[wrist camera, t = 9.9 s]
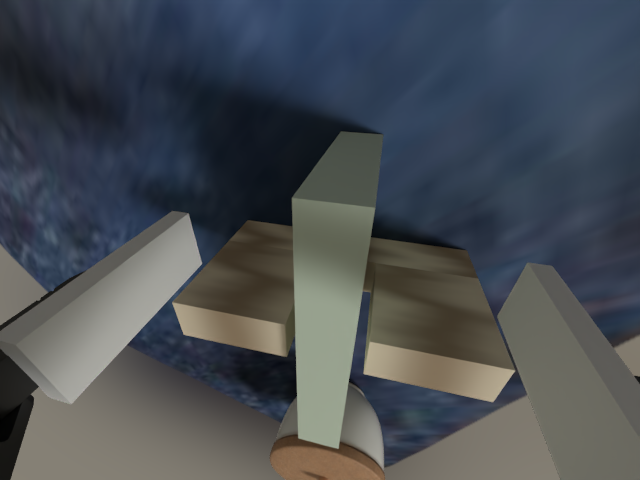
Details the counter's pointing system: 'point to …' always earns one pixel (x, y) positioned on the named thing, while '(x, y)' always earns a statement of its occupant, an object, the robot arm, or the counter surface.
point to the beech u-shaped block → (384, 313)
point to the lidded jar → (327, 462)
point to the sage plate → (331, 277)
